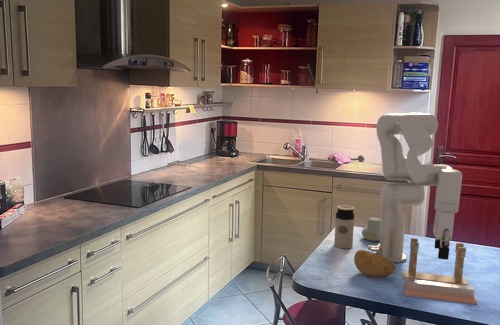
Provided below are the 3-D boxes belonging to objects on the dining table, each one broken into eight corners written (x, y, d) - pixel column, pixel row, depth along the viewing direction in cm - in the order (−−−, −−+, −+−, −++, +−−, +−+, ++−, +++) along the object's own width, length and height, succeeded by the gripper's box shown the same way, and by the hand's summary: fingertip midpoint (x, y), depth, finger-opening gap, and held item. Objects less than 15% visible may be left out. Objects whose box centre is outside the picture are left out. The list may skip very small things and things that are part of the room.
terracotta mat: (404, 295, 165) (404, 293, 164) (403, 284, 174) (403, 282, 174) (477, 304, 159) (477, 302, 159) (471, 292, 169) (471, 290, 168)
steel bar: (405, 289, 168) (406, 281, 167) (405, 286, 171) (405, 278, 170) (473, 298, 162) (474, 290, 162) (471, 294, 165) (472, 286, 165)
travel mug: (338, 242, 219) (341, 203, 216) (355, 245, 214) (357, 206, 211) (331, 246, 212) (333, 207, 209) (347, 250, 208) (350, 210, 205)
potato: (388, 285, 172) (390, 261, 171) (349, 274, 182) (350, 251, 180) (397, 278, 179) (399, 254, 178) (358, 267, 188) (360, 245, 187)
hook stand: (403, 279, 178) (406, 242, 175) (402, 273, 184) (405, 237, 181) (467, 287, 173) (471, 248, 170) (464, 280, 178) (468, 243, 176)
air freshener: (388, 240, 223) (389, 219, 222) (380, 244, 217) (382, 223, 215) (366, 235, 230) (367, 214, 228) (358, 239, 224) (359, 218, 222)
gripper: (431, 198, 171) (426, 243, 174) (438, 211, 154) (432, 261, 157) (454, 200, 169) (448, 246, 172) (463, 214, 152) (456, 264, 156)
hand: (441, 253), depth 165 cm, fingers open, 9 cm apart
